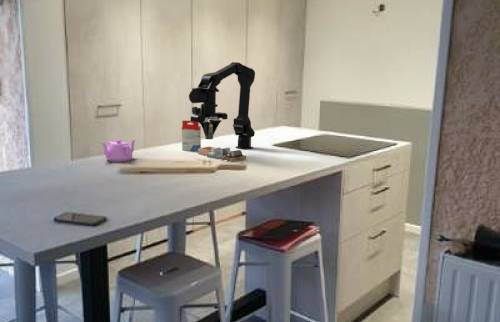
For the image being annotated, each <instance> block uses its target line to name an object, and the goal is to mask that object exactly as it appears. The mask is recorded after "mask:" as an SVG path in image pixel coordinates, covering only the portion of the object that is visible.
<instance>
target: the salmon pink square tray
mask: <svg viewBox="0 0 500 322" xmlns="http://www.w3.org/2000/svg"><path fill="white" fill-rule="evenodd" d="M212 148H215V147H214V146H213V147H212V146H205V147H201V148H198V151H197V152H198V153H197V154H198V155H202V156H206V157H207V154H208V153H209V152H211V149H212Z"/></svg>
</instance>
